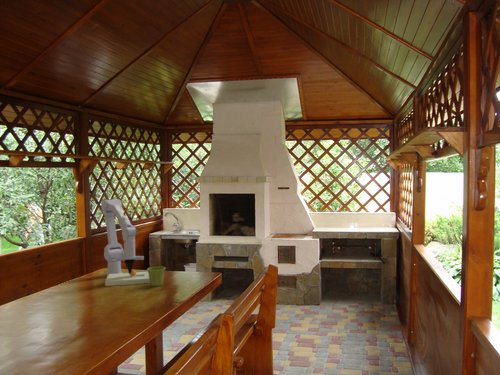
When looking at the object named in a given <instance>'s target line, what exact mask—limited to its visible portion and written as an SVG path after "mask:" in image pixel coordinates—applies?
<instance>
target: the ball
mask: <svg viewBox="0 0 500 375" xmlns="http://www.w3.org/2000/svg"><path fill="white" fill-rule="evenodd" d="M136 272H137V271H136V270H135V269H132V270H131V273H130V275H131V276H135V275H136Z"/></svg>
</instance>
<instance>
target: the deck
mask: <svg viewBox="0 0 500 375" xmlns="http://www.w3.org/2000/svg"><path fill="white" fill-rule="evenodd" d="M104 283H105V287H111V286H128V285H140V284H141V285H142V284H144V283H145V284H150V278H149V273H148V271H138V272H137V271H136V275H135V276H131V275H130V274H129V272H122V273H117V274H109V275H108V277H106V279H105V281H104Z"/></svg>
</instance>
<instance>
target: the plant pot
mask: <svg viewBox="0 0 500 375" xmlns="http://www.w3.org/2000/svg"><path fill="white" fill-rule="evenodd" d="M165 270H166V267H165V266H153V267H151V266H150V267H148V268H147V269H146V271H147V272H148V273H149V278H150V283H149V284H150V286H151V287H158V286H159V287H160V286H162V285H163V284H164V276H165Z"/></svg>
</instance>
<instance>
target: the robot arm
mask: <svg viewBox="0 0 500 375" xmlns="http://www.w3.org/2000/svg"><path fill="white" fill-rule="evenodd" d="M122 203H123V202H122V200H121V199H119V198H117V199H115V198H114V199H113V198H112V199H103V200H102V202H101V205H100V207H101V212H102V215H104V218H105V220H104V221H105V226H106V228H105V229H106V234H107V235H106V236H107V242H108V243H107V245H106V246H104V248H103V250H104V252H103V256H104V257H103V258H104V259H105V260H106V261H107V275H106V278H107V277H108V275H109V274H117V273H123V271H122V262H124V264H125V266H126V268H127V272H128V273H129V274H130V273H131V270H133V266H134V264H135V261H144V260H145V256H144V255H136V237H137V234H138V230H137V227H136V226H135V225H132V223H131V222H130V219H129V217H127V216H125V214H124V212H123V210H122V209H123V208H122V207H123V206H122ZM115 216H116V218H117V223H118V226H119V227H120V229H121V235H122V240H123V243H124V244H123V246H124V247H123V246H122V244H121V243H119V242H118V236H117V229H116V222H115V221H116V219H115Z"/></svg>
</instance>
